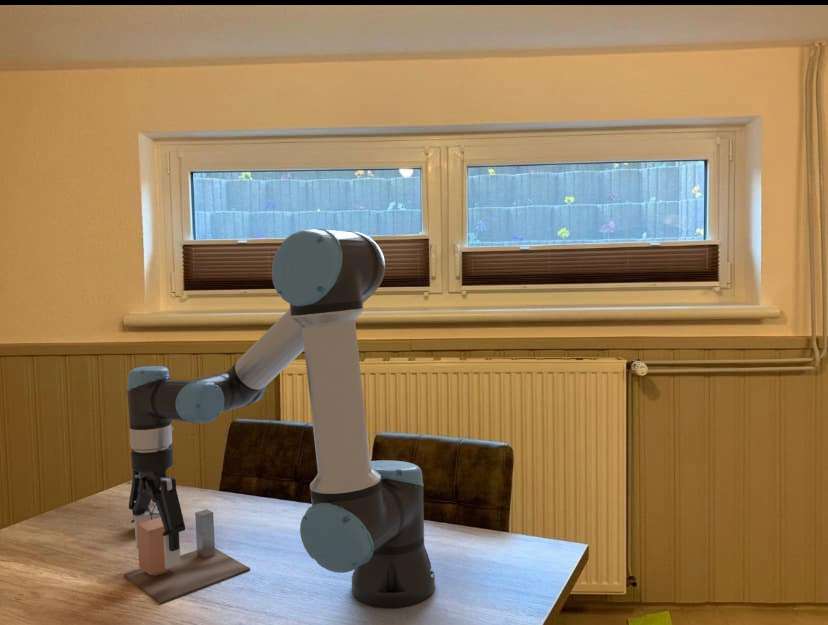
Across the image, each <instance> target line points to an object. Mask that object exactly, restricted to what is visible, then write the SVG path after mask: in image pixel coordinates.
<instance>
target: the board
mask: <svg viewBox="0 0 828 625" xmlns="http://www.w3.org/2000/svg"><path fill="white" fill-rule="evenodd" d="M180 560H181V564H180V565H177V566H176V567H174V568H171V569H168V572H165V573H162V574H159V575H157V576H154V575H149V574H148V573H147V572H145V571H144V570H143V569H141V568H139V569H136V570H132V571H129V572H126V573H124V575H123V576H124V577H125V578H126V579H128V580H129V581H130V582H131V583H132V584H134V585H136V587H137V588H139V589H141V591H143V592H144V593H146V594H147V595H148V596H150V598H152V599H153V600H155V601H156V602H157V603H158V604H160V605H162V604H165V603H167V602H171V601H173V600H176V599H178V598H181V597H183V596H186V595H189V594H192V593H193V592H197V591H199V590H202V589H204V588H207V587H209V586H213V585H214V584H217V583H220V582H223V581H226V580H228V579H230V578H231V579H232V578H233V577H235V576H238V575H241V574H244V573H246V572H249V571H251V567H249V566H247V565H246V564H244V563H242V562H240V561H238V560H237V559H234V558H233V557H231V556H229V555H228V554H226V553H224V552H222V551H221V550H219V549H217V548H216V547H215V555H214V556H211V557H209V558H206V559H202V558H200V557H199V556H197V549H196V550H193V551H190V552H187V553H184V554H180Z"/></svg>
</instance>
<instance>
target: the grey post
mask: <svg viewBox="0 0 828 625" xmlns="http://www.w3.org/2000/svg"><path fill="white" fill-rule="evenodd" d="M194 514H195V518H194V519H195V536H196V537H195V538H196V550H197V556H199V557H200V558H202V559H206V558H209V557H211V556H214V555H215V548H216V547H215V546H216V544H215V543H216V542H215V527H214V526H215V525H214V524H215V523H214V512H213V511H212V510H210V509H202V510H200V511H196V512H195V513H194Z"/></svg>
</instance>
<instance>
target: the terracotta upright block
mask: <svg viewBox="0 0 828 625" xmlns="http://www.w3.org/2000/svg"><path fill="white" fill-rule="evenodd" d="M163 532H165V529H164V526H163V523H162V520H161V517H159V518H156V519H152V520H149V521H145V522H142V523H138V524H137V534H138V549H137V550H138V567H139V569H143V570H144V571H145V572H147V573H148V574H149V575H153V574H156V573H159V572H162V571H165V570H168V569H171V568H174V567H176V566H174V567H171V568H168V569H166V568H165V557H164V537H163V535H162V534H163Z"/></svg>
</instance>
